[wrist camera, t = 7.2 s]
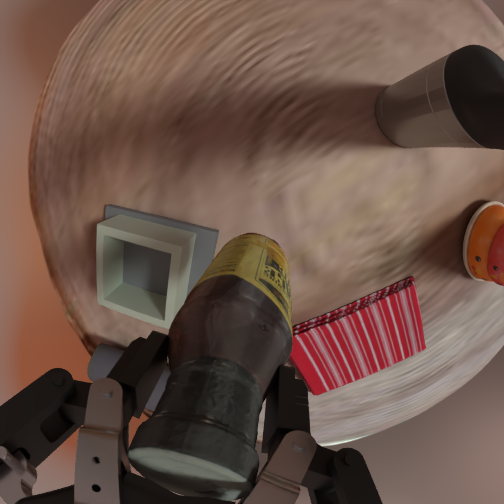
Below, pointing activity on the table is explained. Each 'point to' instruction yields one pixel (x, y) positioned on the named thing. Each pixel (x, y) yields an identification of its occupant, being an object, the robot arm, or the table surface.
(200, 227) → the bottle jig
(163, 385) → the bluetooth speaker
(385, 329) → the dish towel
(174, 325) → the sauce bottle
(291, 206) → the table surface
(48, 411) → the robot arm
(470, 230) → the stacking toy
